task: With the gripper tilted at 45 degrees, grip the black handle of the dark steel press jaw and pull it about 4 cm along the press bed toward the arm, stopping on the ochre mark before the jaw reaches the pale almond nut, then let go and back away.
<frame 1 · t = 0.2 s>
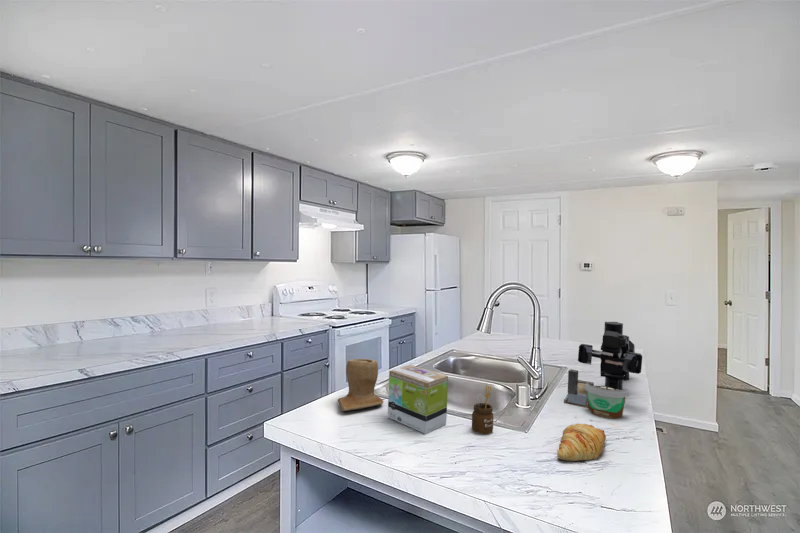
hand: (605, 364, 128), 16 cm above the counter, tool horizontal, fingers open, 9 cm apart
tea box: (416, 422, 119), on the counter
press bed: (579, 402, 140), on the counter
food container: (604, 420, 125), on the counter
nut: (581, 396, 142), point 1 cm above the counter, touching press bed
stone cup: (358, 406, 130), on the counter
croissant: (580, 451, 105), on the counter
utensil holder: (482, 431, 115), on the counter
press jaw: (577, 387, 135), point 7 cm above the counter, slide at 0.0 cm
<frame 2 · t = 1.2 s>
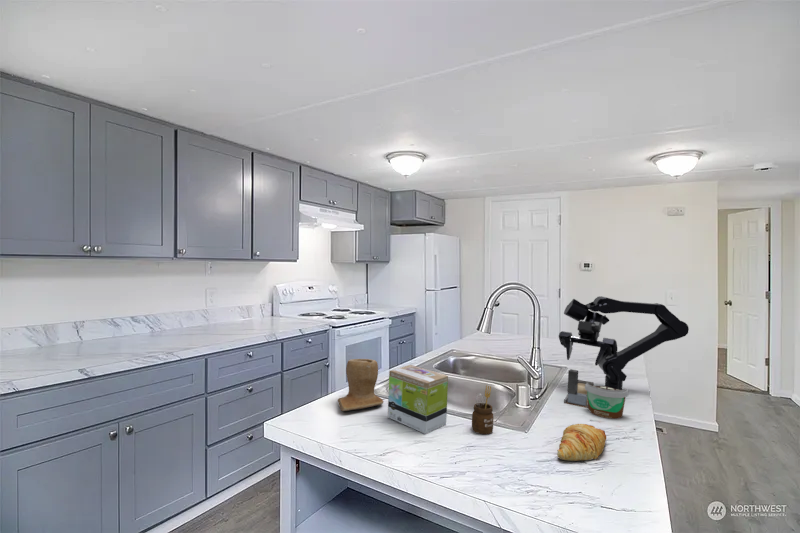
hand: (581, 362, 141), 14 cm above the counter, tool tilted 45°, fingers open, 9 cm apart
nothing on the counter moved.
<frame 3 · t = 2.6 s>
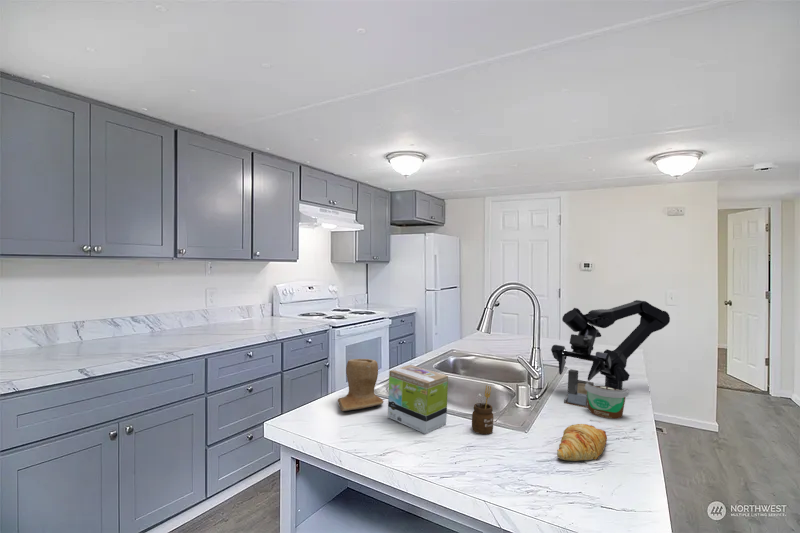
hand: (573, 376, 137), 10 cm above the counter, tool tilted 45°, fingers open, 9 cm apart
nothing on the counter moved.
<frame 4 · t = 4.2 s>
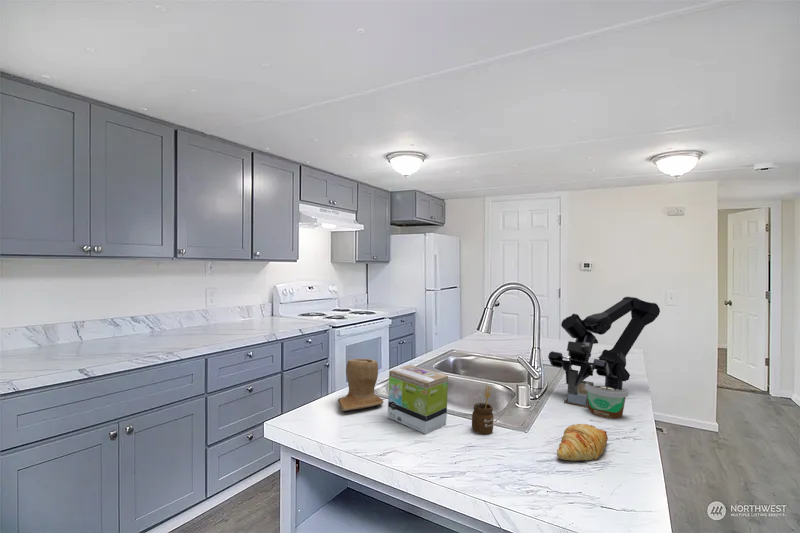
hand: (571, 384, 134), 8 cm above the counter, tool tilted 45°, fingers closed on press jaw, 2 cm apart
press jaw: (577, 387, 135), point 7 cm above the counter, slide at 0.0 cm, touching gripper
everything else where it was.
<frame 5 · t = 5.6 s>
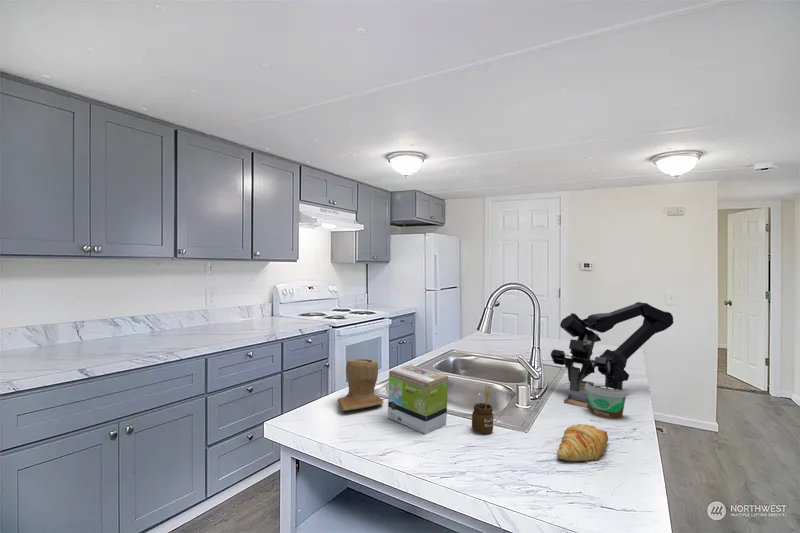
hand: (573, 381, 138), 8 cm above the counter, tool tilted 45°, fingers closed on press jaw, 2 cm apart
press jaw: (579, 384, 138), point 7 cm above the counter, slide at 3.9 cm, touching gripper
everything else where it was.
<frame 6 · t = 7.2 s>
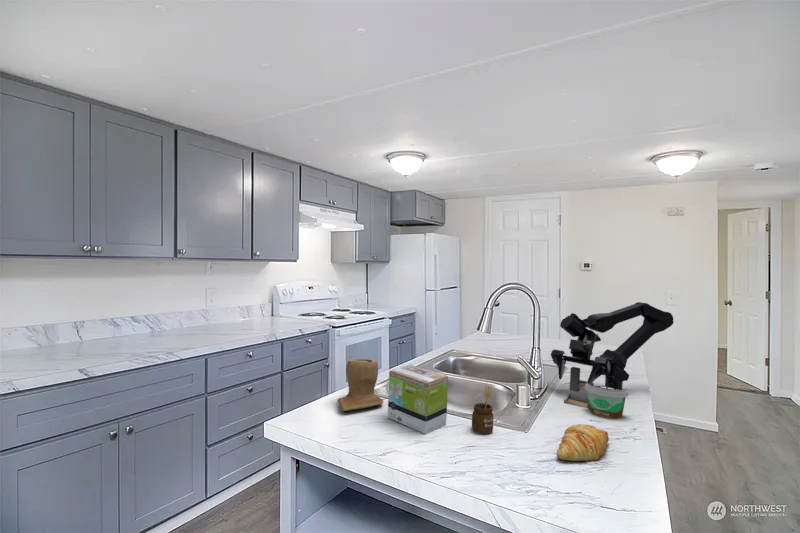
hand: (573, 381, 138), 8 cm above the counter, tool tilted 45°, fingers open, 9 cm apart
press jaw: (579, 384, 138), point 7 cm above the counter, slide at 4.0 cm
everything else where it was.
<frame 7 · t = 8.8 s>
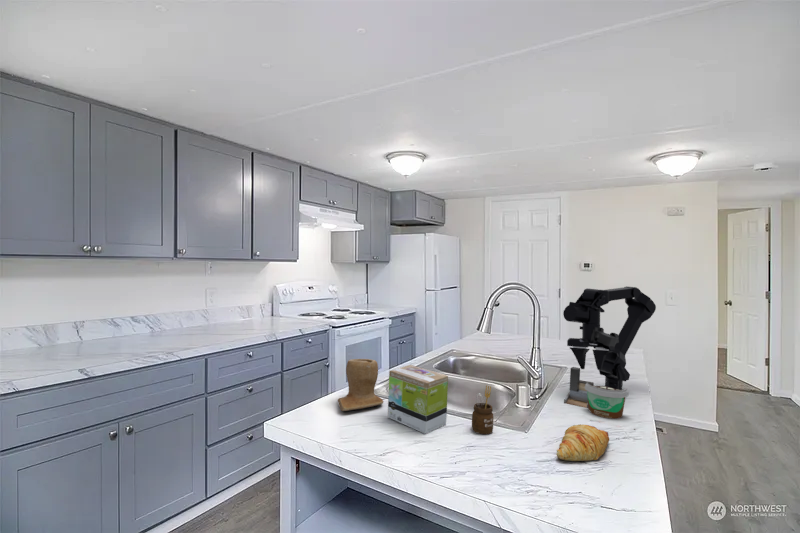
hand: (591, 369, 141), 11 cm above the counter, tool pointing down, fingers open, 9 cm apart
nothing on the counter moved.
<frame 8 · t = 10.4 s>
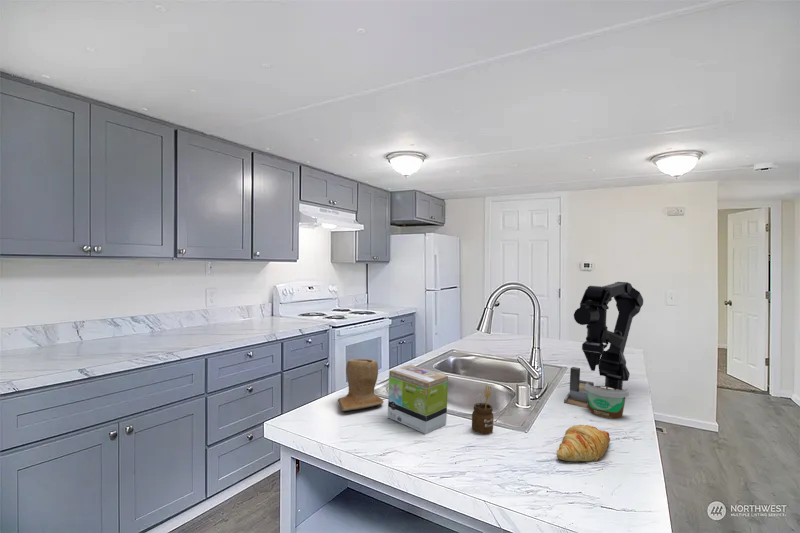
hand: (594, 367, 140), 12 cm above the counter, tool pointing down, fingers open, 9 cm apart
nothing on the counter moved.
at the end: press jaw slide at 3.8 cm; nut moved 0.0 cm from its start; the gripper is holding nothing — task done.
